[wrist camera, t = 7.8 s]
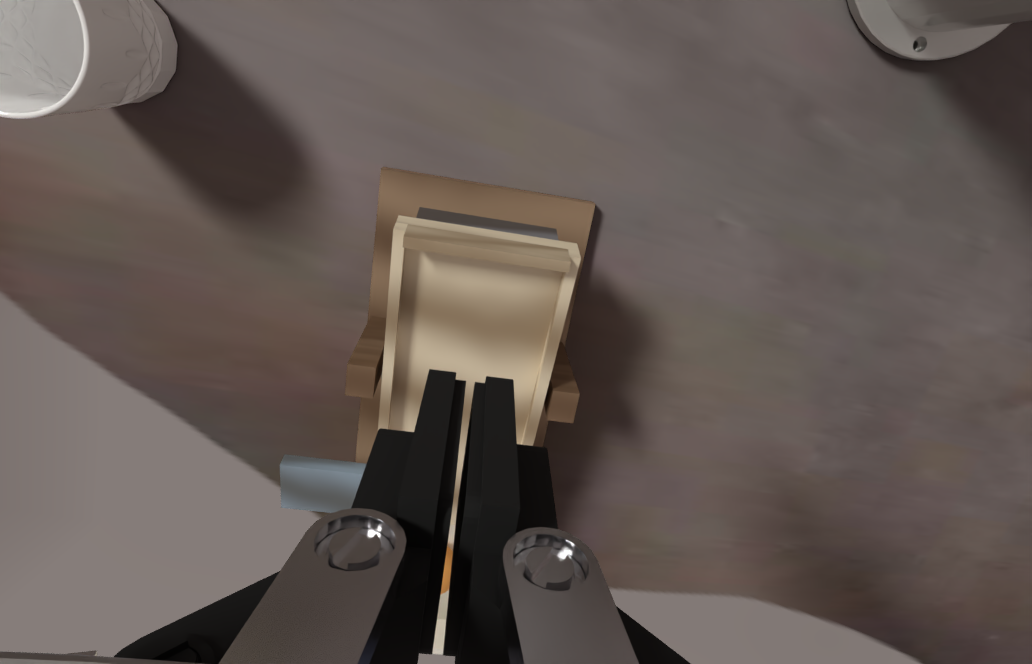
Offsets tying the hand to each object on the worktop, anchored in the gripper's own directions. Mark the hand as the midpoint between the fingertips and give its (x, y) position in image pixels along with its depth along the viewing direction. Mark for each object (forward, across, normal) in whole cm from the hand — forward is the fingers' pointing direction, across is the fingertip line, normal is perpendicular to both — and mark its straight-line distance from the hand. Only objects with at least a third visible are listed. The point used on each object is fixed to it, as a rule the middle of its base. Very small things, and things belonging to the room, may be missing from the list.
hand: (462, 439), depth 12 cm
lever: (+26, +3, +11) cm, 29 cm away
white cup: (+30, +23, -6) cm, 38 cm away
